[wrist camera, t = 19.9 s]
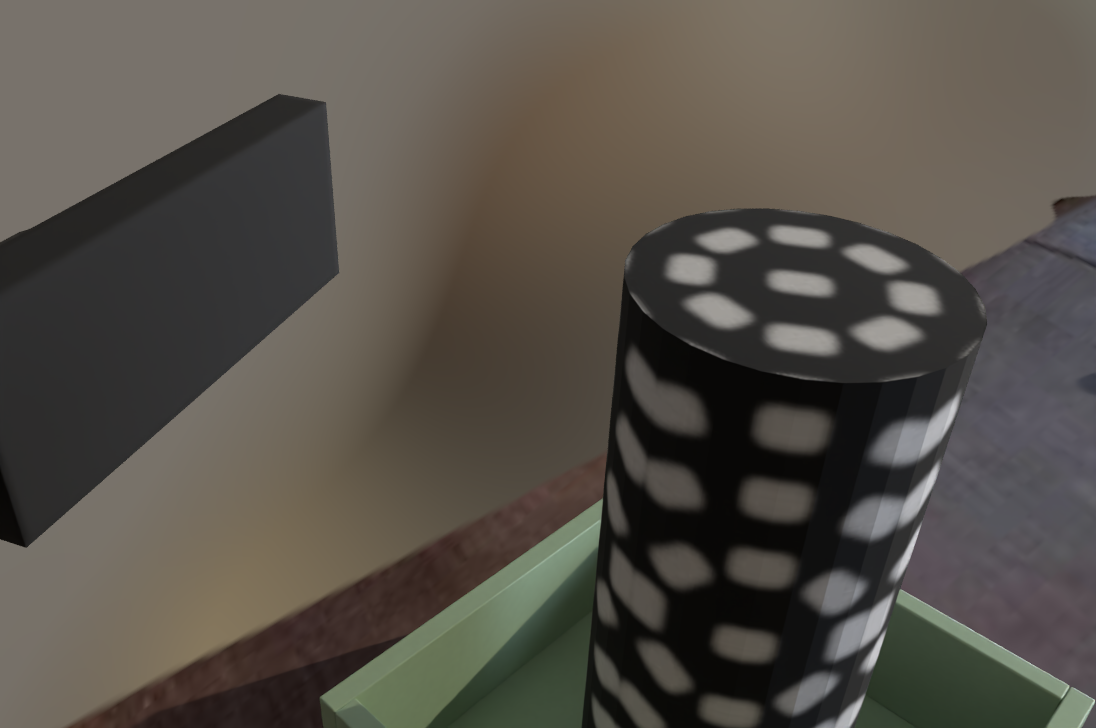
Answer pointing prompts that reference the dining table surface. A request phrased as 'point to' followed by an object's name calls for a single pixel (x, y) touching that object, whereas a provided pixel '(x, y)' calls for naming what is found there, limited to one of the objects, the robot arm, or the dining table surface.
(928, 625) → the bin
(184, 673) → the dining table surface
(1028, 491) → the dining table surface
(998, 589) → the dining table surface
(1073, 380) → the dining table surface
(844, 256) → the white-spotted black cylinder
